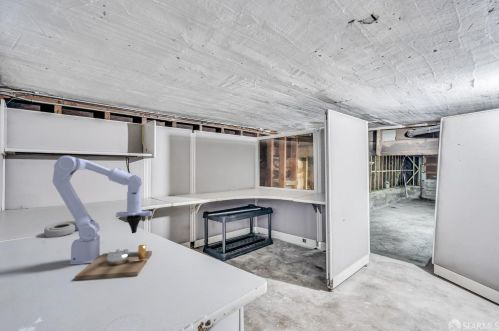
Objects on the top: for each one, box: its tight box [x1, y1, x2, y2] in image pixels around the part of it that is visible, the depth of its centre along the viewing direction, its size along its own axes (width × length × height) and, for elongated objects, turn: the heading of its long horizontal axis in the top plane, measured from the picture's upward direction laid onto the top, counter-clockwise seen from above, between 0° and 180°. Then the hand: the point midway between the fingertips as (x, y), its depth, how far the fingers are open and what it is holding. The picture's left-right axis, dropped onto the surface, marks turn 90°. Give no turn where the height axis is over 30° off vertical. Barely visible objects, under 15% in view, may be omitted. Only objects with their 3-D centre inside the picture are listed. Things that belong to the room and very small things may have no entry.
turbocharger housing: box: [43, 220, 78, 238], centre depth 142 cm, size 17×6×15 cm
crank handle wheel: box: [107, 244, 147, 265], centre depth 95 cm, size 14×8×6 cm, turn 94°
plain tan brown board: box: [74, 250, 153, 281], centre depth 94 cm, size 21×22×2 cm
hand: (134, 232), depth 108 cm, fingers closed
